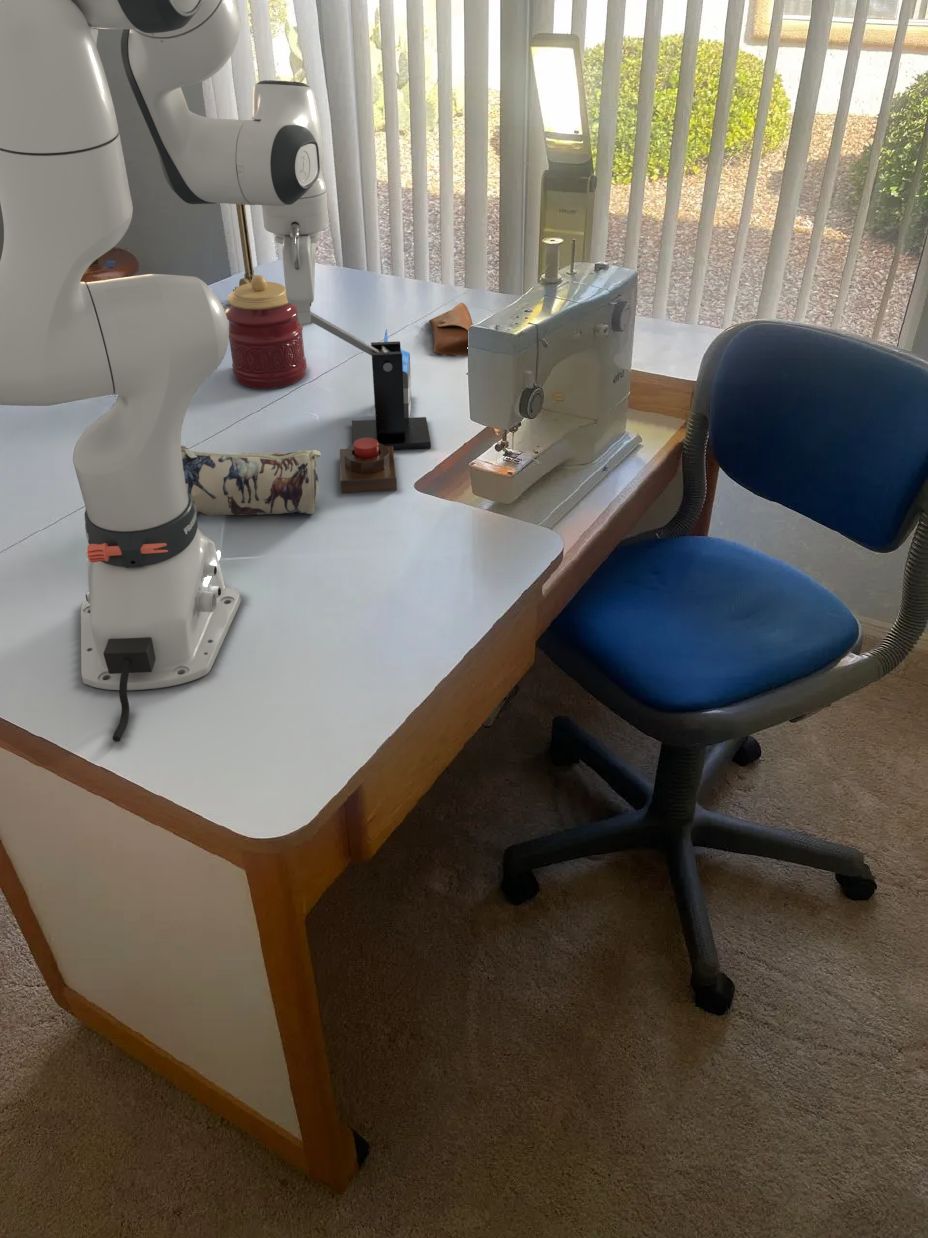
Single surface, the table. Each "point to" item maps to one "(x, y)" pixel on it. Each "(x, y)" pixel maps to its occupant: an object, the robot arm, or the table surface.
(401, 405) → the bracket
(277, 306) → the kitchen canister
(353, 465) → the control block
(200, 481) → the pencil case
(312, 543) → the table surface
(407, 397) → the tape cartridge
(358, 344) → the lever
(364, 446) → the button
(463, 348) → the sunglasses case
